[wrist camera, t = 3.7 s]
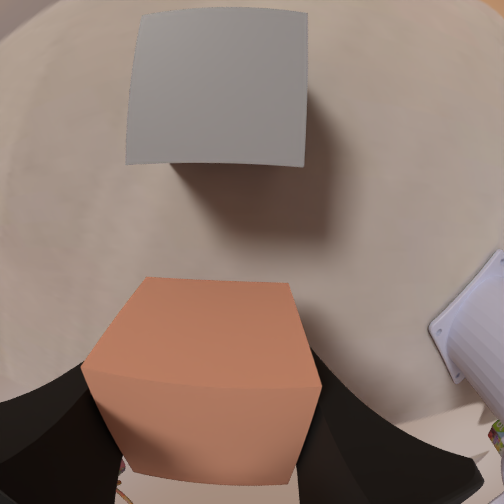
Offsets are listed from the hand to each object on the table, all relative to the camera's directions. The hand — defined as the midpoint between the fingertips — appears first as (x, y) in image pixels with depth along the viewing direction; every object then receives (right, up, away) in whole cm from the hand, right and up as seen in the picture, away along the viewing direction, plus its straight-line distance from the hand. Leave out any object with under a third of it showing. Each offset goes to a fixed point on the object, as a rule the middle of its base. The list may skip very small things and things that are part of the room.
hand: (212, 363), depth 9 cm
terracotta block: (0, 0, +1) cm, 1 cm away
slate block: (0, +10, +2) cm, 10 cm away
